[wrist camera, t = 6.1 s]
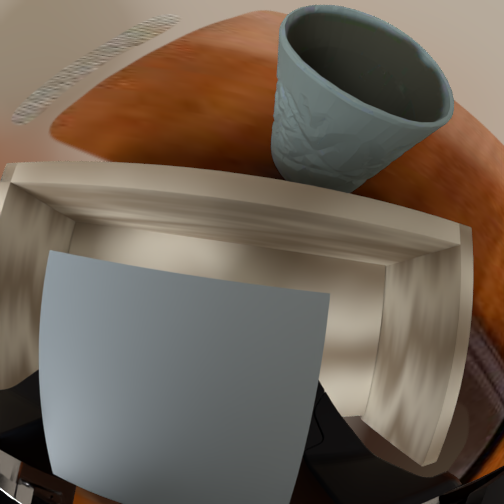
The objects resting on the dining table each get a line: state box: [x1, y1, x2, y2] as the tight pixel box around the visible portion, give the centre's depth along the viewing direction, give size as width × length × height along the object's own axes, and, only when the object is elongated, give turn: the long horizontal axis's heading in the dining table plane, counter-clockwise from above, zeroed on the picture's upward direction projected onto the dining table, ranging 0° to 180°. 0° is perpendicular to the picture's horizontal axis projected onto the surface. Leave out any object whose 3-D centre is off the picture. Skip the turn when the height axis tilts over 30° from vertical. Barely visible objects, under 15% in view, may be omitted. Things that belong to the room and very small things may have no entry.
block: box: [39, 250, 330, 504], centre depth 9 cm, size 4×4×12 cm
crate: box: [0, 161, 473, 466], centre depth 14 cm, size 14×27×9 cm, turn 83°
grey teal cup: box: [271, 5, 454, 193], centre depth 16 cm, size 10×10×12 cm
